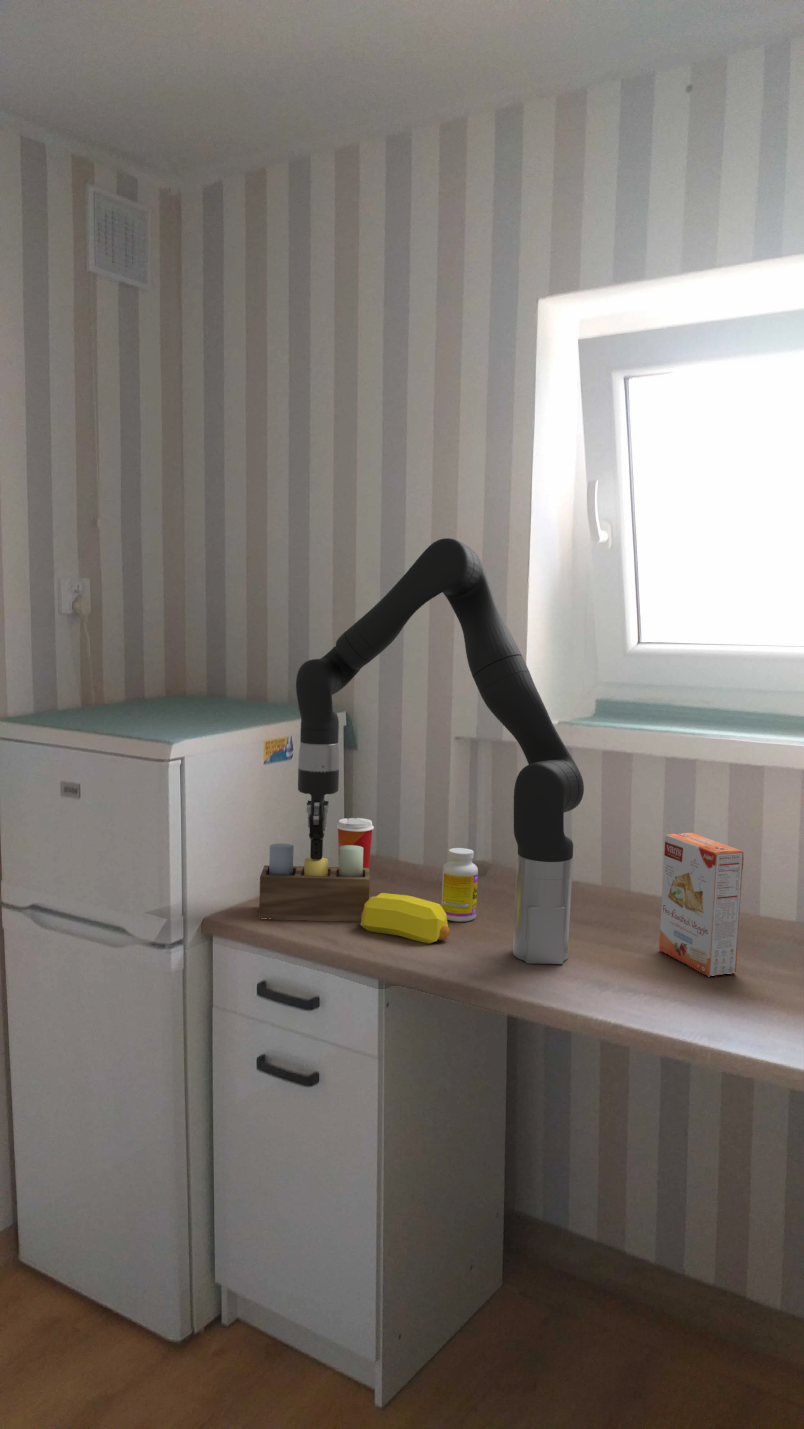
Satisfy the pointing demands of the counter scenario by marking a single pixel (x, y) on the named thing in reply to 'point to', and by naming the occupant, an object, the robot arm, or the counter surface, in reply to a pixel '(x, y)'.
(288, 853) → the blue-grey cylinder
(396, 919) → the yellow toy banana
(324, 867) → the button mustard
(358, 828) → the paper cup
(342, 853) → the button sage
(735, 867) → the cracker box
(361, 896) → the wooden compartment holder
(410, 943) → the counter surface
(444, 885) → the supplement bottle
